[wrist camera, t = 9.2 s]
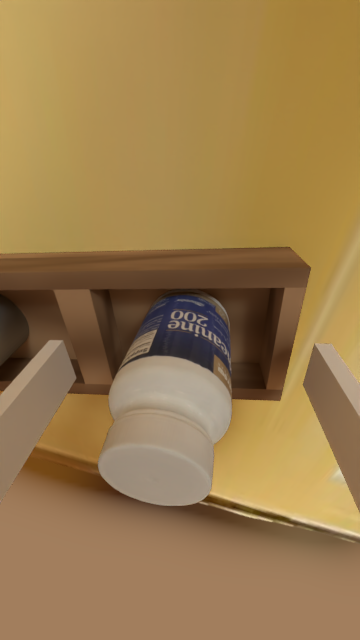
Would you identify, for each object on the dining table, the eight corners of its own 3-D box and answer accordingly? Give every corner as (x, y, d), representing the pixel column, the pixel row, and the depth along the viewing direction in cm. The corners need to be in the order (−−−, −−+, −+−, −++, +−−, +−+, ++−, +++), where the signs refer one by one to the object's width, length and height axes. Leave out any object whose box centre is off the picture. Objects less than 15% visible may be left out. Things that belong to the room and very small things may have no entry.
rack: (-78, 255, 17) (-138, 274, 14) (289, 247, 15) (310, 267, 12) (-18, 358, 22) (-53, 389, 19) (268, 364, 19) (280, 400, 16)
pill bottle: (248, 321, 16) (271, 493, 8) (193, 365, 19) (168, 525, 11) (182, 267, 15) (128, 406, 6) (133, 322, 17) (53, 469, 9)
